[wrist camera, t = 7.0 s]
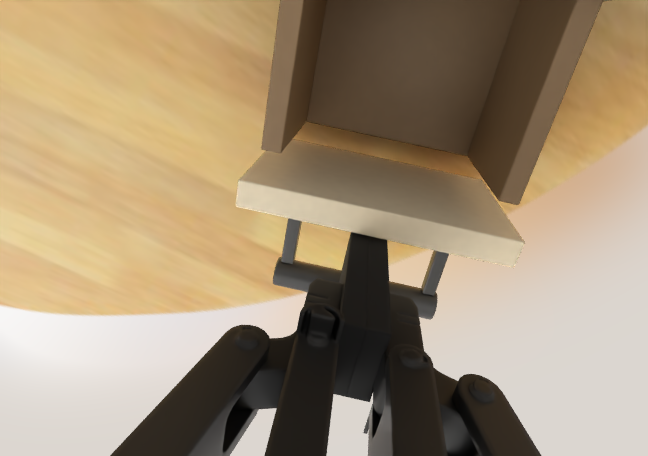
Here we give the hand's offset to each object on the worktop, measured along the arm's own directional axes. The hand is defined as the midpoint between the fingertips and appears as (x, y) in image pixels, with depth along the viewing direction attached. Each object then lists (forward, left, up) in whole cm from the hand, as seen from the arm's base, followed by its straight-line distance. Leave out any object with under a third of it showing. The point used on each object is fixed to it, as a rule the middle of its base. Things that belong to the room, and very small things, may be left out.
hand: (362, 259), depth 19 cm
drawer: (0, +6, -7) cm, 9 cm away
